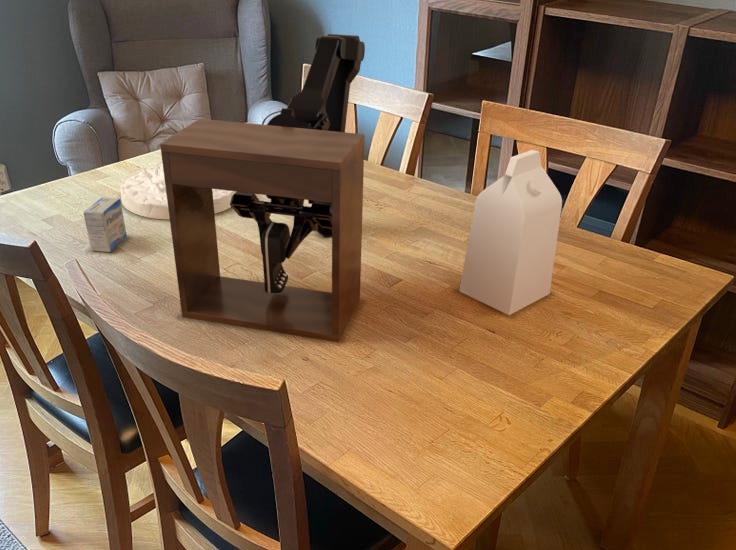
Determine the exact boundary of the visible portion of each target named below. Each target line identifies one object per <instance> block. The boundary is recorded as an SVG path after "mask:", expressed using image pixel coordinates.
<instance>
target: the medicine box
mask: <svg viewBox="0 0 736 550" xmlns="http://www.w3.org/2000/svg"><path fill="white" fill-rule="evenodd" d="M122 205H123V204H122V200H121V198H116V197H101V198H99V199H98V200H97V201H95V202H94V203H93V204H92V205H91V206H90V207H87V208H86V209H85V210H84V211H83V218H84V224H85V227H86V233H87V238H88V243H89V247H90V250H91V251H93V252H100V253H101V252H103V253H112V252H113V251H114V250H115V249H116V248H117V247H118V246H119V245H120V244H121V243H123V241H124V240H125V239H126V238H127V237H128V235H127V228H126V223H125V218H124V212H123V206H122Z"/></svg>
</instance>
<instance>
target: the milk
mask: <svg viewBox="0 0 736 550" xmlns="http://www.w3.org/2000/svg"><path fill="white" fill-rule="evenodd" d="M562 207H563V199H562V195H561V193H560V191H559V189H558V188H557V187H556V185H555V184H554V182H553V180H552V179H551V178H550V176H549V175H548V174H547V172H546V170H545V169H544V168H543V167H542V160H541V154H540V151H538V150H535V149H531V150H527V151H524V152H522V153H519V154H516V155H513V156H511V157H510V159H509V161H508V164H507V168H506V171H505V174H504V175H503V176H502V177H500V178H498V179H497V180H496V181H494V182H493V183H491V184H490V185H489V186H487V187H486V188H484V189H483V190H482V191H481V192H480V193H479V194H478V195H477V197H476V198H475V203H474V207H473V213H472V217H471V223H470V228H469V236H468V239H467V246H466V252H465V257H464V262H463V267H462V268H463V269H462V272H461V280H460V284H459V290H458V291H459V293H462V294H464V295H466V296H468V297H470V298H472V299H474V300H477V301H478V302H480V303H483V304H485V305H487V306H488V307H491V308H493V309H495V310H497V311H499V312H501V313H503V314H505V315H507V316H511V315H512V314H515V313H516V312H518V311H520V310H522V309H524V308H525V307H528V306H529V305H532V304H533V303H535V302H537V301H539V300H541V299H542V298H544V297H546V296H549V295H550V293H551V286H552V279H553V271H554V265H555V258H556V251H557V242H558V237H559V231H560V229H559V228H560V221H561V215H562Z"/></svg>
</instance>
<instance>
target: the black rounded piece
mask: <svg viewBox="0 0 736 550" xmlns="http://www.w3.org/2000/svg"><path fill="white" fill-rule="evenodd" d="M290 236H291V230H290V226H289V225H288V224H287V223H285V222H276V221H272V222H269V223H268V225H267V226H266V228H265V230H264V232H263V234H262V253H261V256H262V268H263V280H264V282H263V283H264V284H265V292H267V293H281V292H282V291H283V290H284V288H285V286H287V283H288V281H289V275H288V274H287V272H286V270H285V269H284V267H283V264H282V263H284V262H285V261H286V259H287V258H286V251H287V246H288V243H289V239H290Z"/></svg>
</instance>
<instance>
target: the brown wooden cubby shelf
mask: <svg viewBox="0 0 736 550" xmlns="http://www.w3.org/2000/svg"><path fill="white" fill-rule="evenodd" d="M159 146H160V155H161V162H162V163H163V171H164V178H165V186H166V194H167V202H168V210H169V217H170V219H169V225H170V232H171V240H172V248H173V257H174V263H175V269H176V270H175V271H176V280H177V286H178V294H179V303H180V309H181V310H180V311H181V317H182V318H187V319H193V320H198V321H199V320H201V321H206V322H210V323H211V322H212V323H218V324H223V325H229V326H230V325H231V326H237V327H243V328H250V329H255V330H262V331H268V332H274V333H280V334H286V335H290V336H291V335H292V336H298V337H305V338H310V339H317V340H323V341H328V342H329V341H330V342H335V343H339V342H340V340H341V339H342V337H343V334H344V333H345V331H346V329H347V327H348V325H349V324H350V322H351V320H352V318H353V316H354V315H355V313H356V311H357V308H358V307H359V305H360V303H361V276H362V275H361V274H362V246H363V245H362V242H363V241H362V240H363V239H362V238H363V206H364V205H363V204H364V171H365V134H364V133H356V132H355V133H354V132H346V131H345V132H335V131H325V130H314V129H303V128H293V127H282V126H272V125H267V124H259V123H249V122H238V121H228V120H219V119H209V118H208V119H206V118H198V119H196V120H195V121H194V122H192V123H190V124H189V125H187V126H186V127H185V128H183V129H181V130H179V131H178V132H177V133H175V134H173V135H172V136H169V138H167V139H166V140H163V142H161V143H160V144H159ZM212 189H219V190H228V191H236V192H245V193H253V194H255V195H261V196H263V195H264V196H266V195H270V196H279V197H287V198H296V199H304V201H305V200H306V201H308V200H313V201H321V202H330V203H332V236H331V292H330V291H323V290H316V289H311V288H305V287H304V288H303V287H296V286H291V285H289V286H288V285H285V288H284V290H283V291H282V292H281V293H267V292H265V284H264V282H262V281H255V280H249V279H241V278H234V277H227V276H222V275H221V270H220V269H221V268H220V259H219V257H220V256H219V247H218V237H217V227H216V214H215V213H214V202H213V192H212Z"/></svg>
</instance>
